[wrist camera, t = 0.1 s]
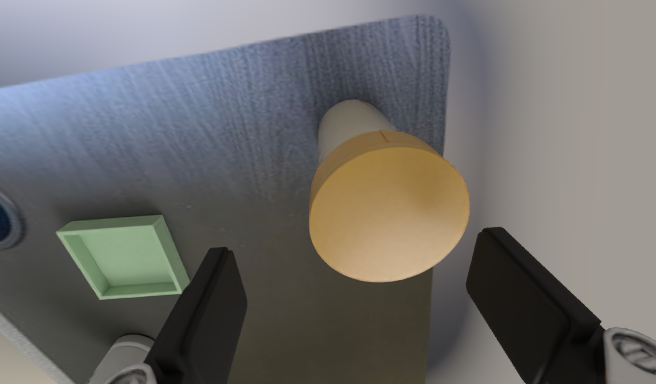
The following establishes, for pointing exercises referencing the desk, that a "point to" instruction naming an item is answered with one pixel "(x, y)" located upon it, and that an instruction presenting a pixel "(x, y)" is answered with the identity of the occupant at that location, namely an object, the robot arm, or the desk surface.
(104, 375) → the travel mug
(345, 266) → the lid
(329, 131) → the jar
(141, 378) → the robot arm
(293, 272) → the desk surface
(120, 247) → the tray
